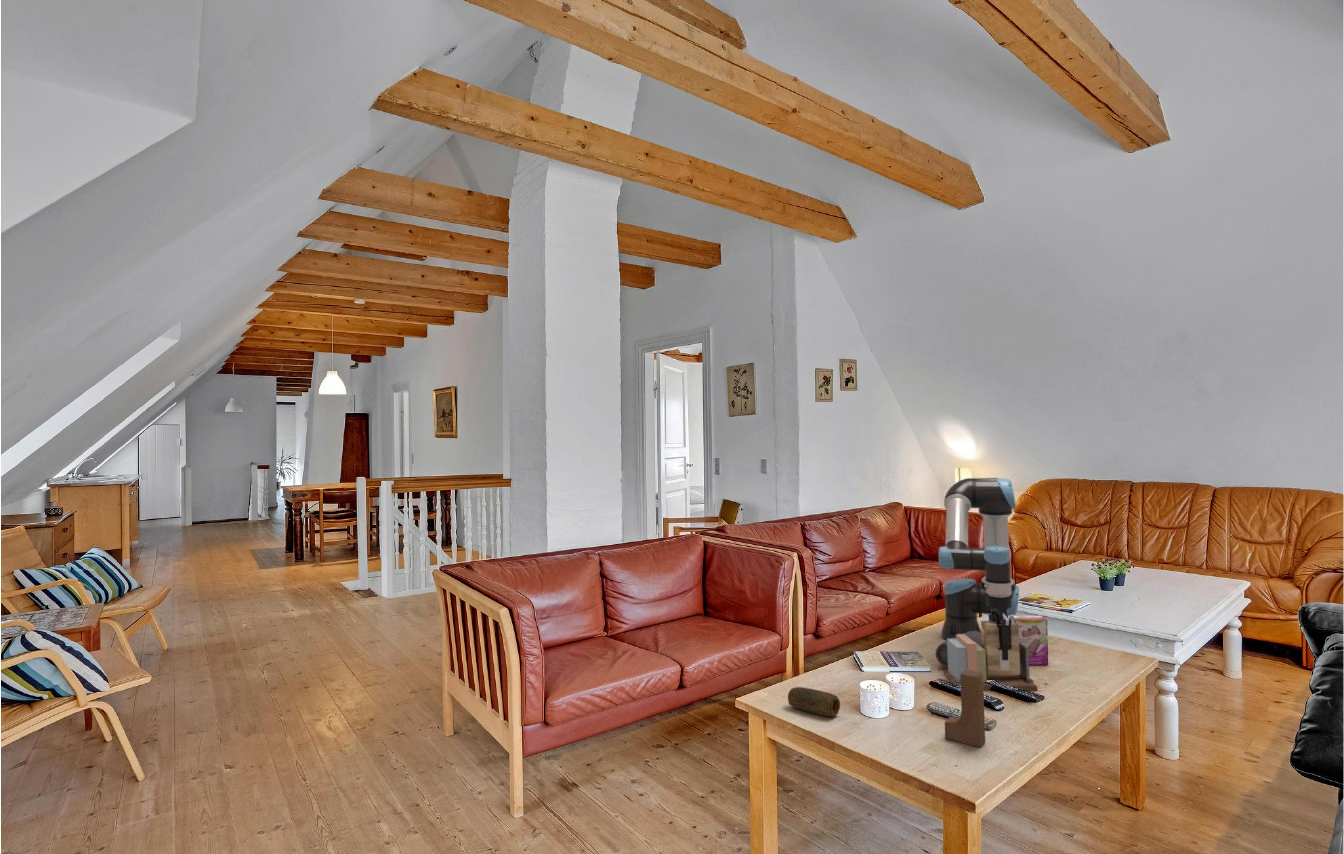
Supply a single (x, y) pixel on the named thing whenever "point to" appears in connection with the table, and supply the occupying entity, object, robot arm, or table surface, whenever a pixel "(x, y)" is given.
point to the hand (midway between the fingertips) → (1001, 666)
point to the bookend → (1024, 663)
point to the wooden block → (969, 712)
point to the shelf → (1005, 679)
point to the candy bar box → (1033, 637)
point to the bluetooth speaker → (942, 648)
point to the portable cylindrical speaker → (814, 701)
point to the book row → (965, 656)
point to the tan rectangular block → (992, 644)
